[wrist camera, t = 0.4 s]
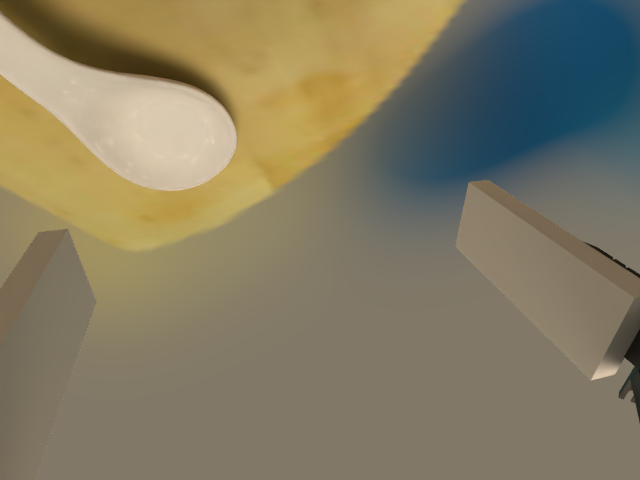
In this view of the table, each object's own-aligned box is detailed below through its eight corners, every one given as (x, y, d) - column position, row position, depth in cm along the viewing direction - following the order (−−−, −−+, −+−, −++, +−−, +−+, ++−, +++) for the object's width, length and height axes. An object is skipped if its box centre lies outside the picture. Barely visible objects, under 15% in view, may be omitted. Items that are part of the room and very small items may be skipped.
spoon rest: (256, 120, 41) (268, 163, 36) (178, 186, 44) (181, 233, 40) (-12, -128, 24) (-51, -105, 19) (-103, 12, 27) (-153, 59, 23)
